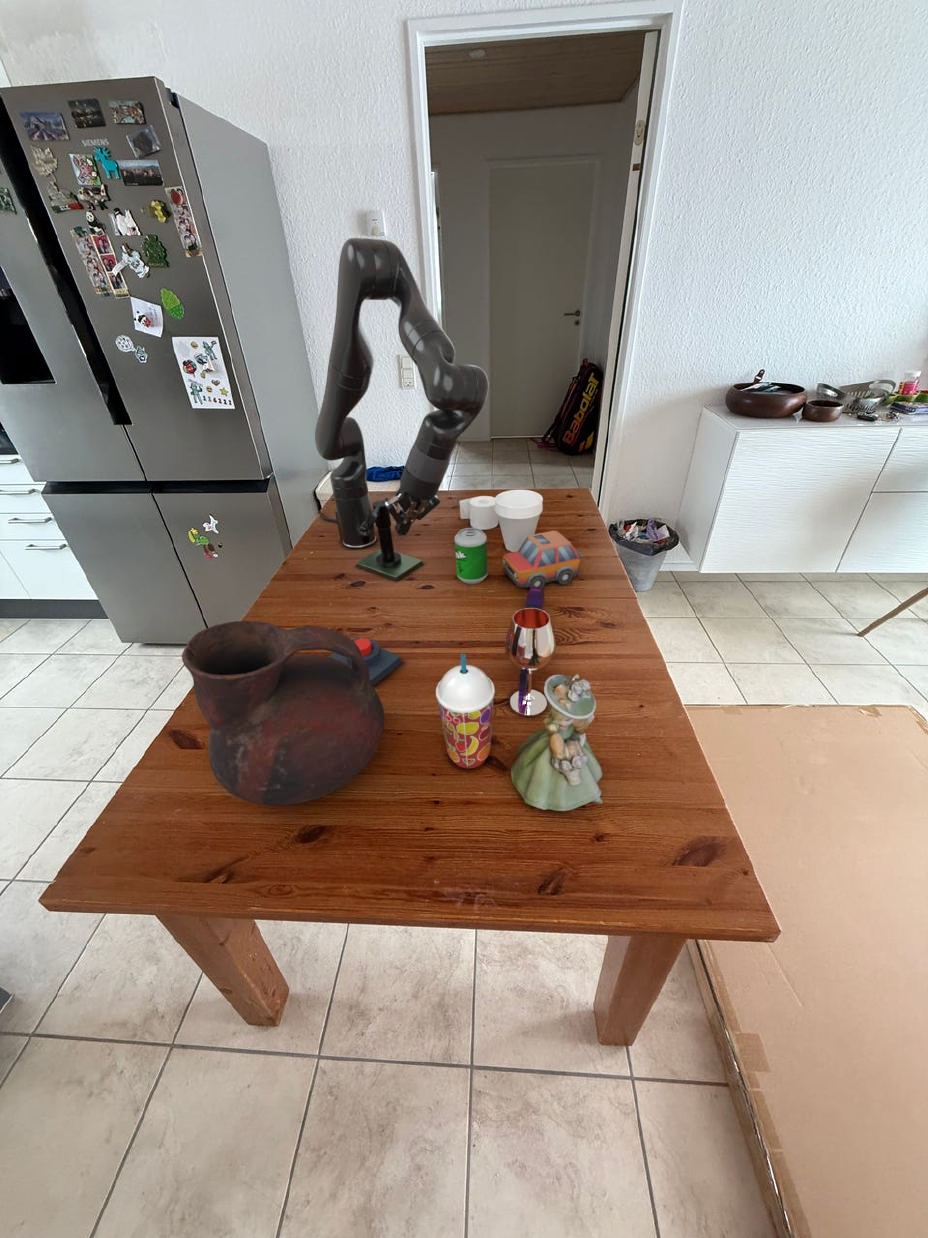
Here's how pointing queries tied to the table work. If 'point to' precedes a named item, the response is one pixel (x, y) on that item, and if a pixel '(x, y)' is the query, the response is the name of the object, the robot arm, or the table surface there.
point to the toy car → (542, 561)
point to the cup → (518, 516)
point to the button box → (375, 662)
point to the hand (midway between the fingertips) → (400, 532)
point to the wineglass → (530, 654)
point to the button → (364, 646)
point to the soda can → (471, 555)
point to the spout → (375, 520)
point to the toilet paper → (479, 512)
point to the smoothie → (466, 713)
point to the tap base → (389, 559)
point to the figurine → (560, 751)
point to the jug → (283, 710)
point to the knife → (536, 601)
